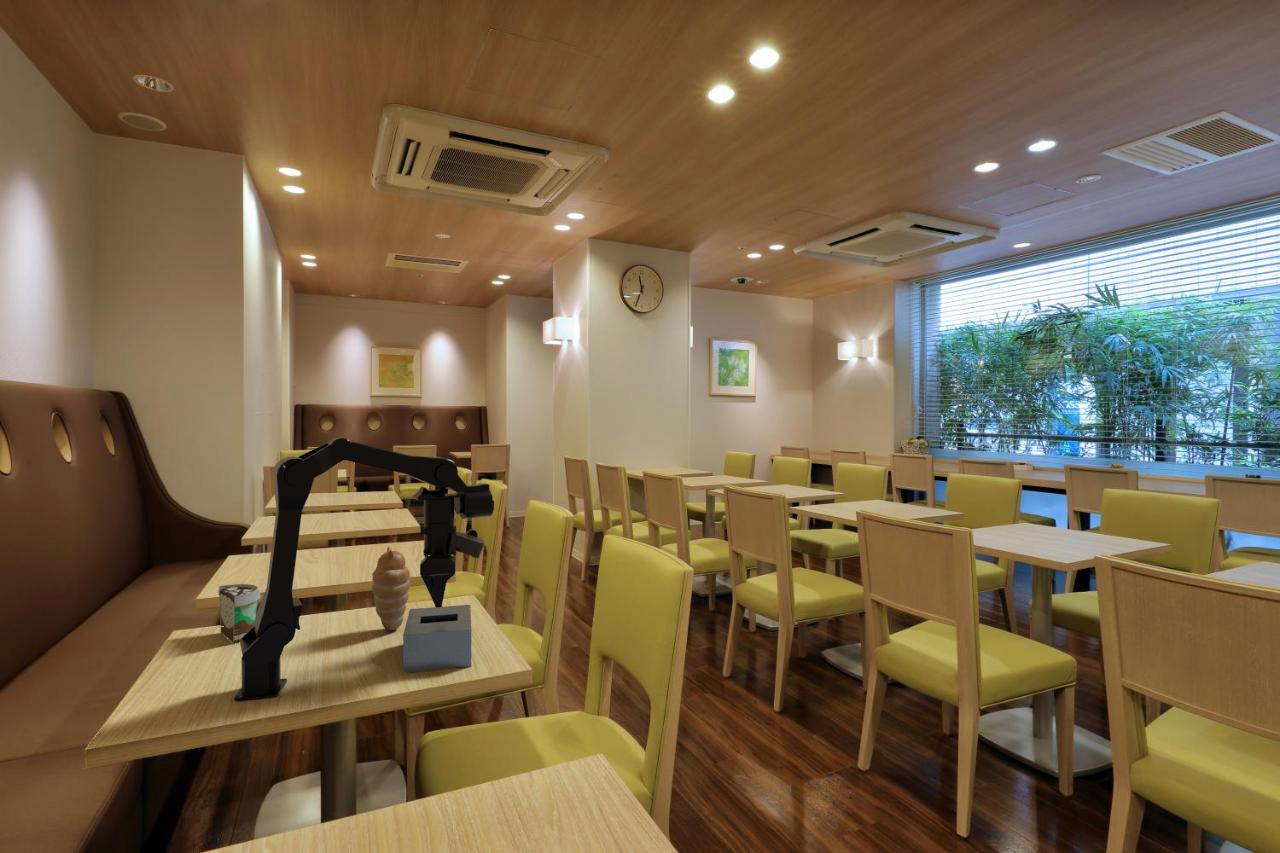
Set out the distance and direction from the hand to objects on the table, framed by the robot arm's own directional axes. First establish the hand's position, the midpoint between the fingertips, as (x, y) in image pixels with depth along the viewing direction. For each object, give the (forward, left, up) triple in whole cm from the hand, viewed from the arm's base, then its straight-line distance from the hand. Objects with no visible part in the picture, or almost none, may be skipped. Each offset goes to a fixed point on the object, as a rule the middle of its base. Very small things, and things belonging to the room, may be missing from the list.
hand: (439, 600), depth 126 cm
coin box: (0, 0, -11) cm, 11 cm away
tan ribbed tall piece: (+17, +11, -11) cm, 23 cm away
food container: (+22, +41, -11) cm, 47 cm away
